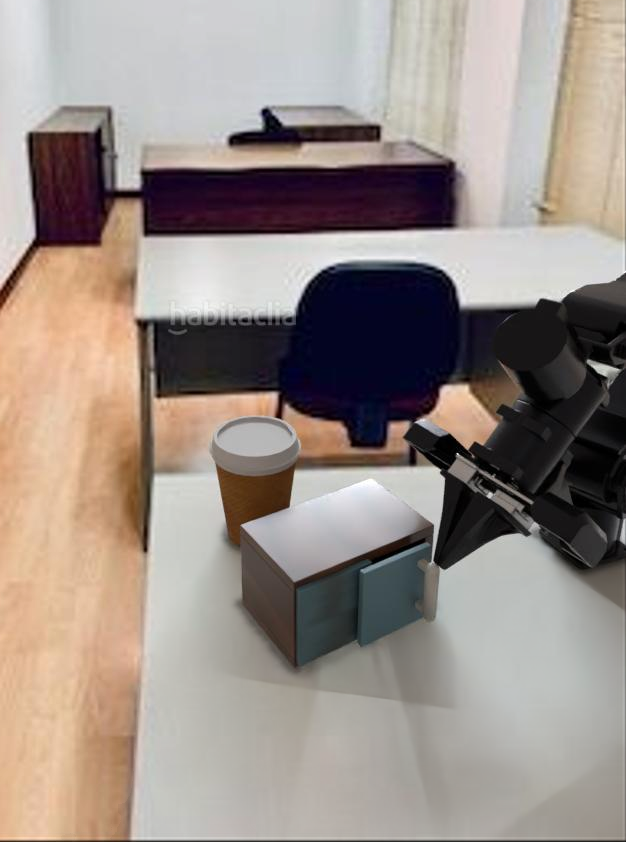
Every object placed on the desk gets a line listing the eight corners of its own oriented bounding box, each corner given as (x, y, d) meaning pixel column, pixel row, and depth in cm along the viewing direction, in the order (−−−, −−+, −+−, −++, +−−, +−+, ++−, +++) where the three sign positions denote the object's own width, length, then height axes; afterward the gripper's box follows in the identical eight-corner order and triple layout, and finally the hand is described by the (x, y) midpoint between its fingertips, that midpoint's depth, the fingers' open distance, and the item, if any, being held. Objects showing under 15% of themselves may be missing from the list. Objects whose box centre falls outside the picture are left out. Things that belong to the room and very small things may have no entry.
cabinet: (368, 552, 79) (371, 477, 75) (432, 609, 71) (439, 528, 68) (242, 604, 72) (239, 524, 69) (297, 673, 64) (298, 587, 61)
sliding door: (421, 612, 69) (426, 541, 67) (442, 631, 67) (449, 558, 64) (356, 643, 66) (359, 569, 63) (376, 664, 64) (380, 589, 61)
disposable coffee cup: (295, 565, 77) (295, 462, 73) (203, 555, 79) (198, 454, 75) (305, 511, 86) (306, 416, 81) (223, 503, 88) (219, 410, 83)
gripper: (675, 511, 63) (567, 666, 62) (501, 420, 78) (411, 542, 77) (630, 451, 57) (508, 623, 55) (450, 365, 72) (352, 498, 71)
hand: (438, 566), depth 65 cm, fingers closed, pressing on sliding door
